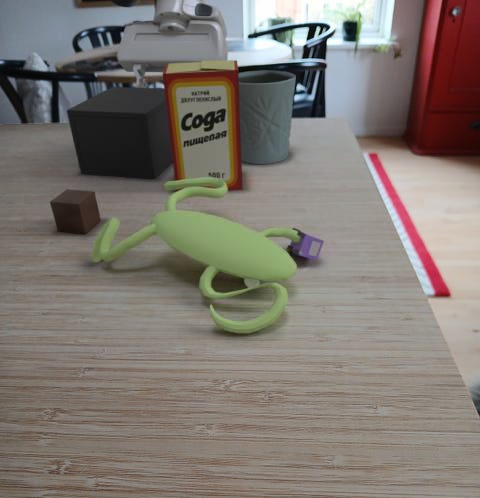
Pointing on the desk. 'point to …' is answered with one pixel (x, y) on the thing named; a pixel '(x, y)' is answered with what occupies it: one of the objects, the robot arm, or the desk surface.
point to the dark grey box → (122, 133)
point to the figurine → (218, 248)
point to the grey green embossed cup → (265, 115)
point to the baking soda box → (204, 120)
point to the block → (75, 211)
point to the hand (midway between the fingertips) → (164, 91)
